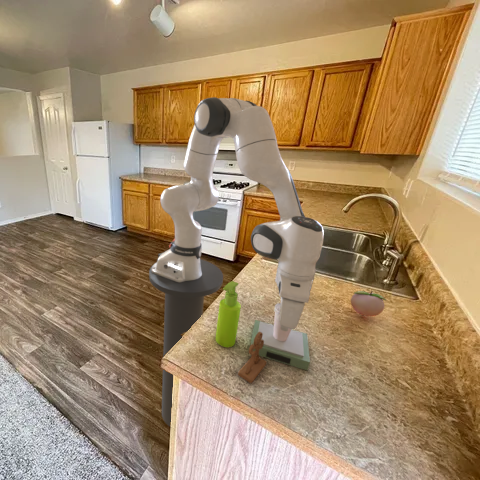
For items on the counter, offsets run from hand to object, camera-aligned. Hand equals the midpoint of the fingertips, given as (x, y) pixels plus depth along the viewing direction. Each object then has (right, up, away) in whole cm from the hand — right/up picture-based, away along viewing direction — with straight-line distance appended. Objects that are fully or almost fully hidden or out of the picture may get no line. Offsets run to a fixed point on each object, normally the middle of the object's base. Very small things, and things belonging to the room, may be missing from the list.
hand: (284, 321), depth 75 cm
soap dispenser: (-16, -8, +5) cm, 18 cm away
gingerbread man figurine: (-10, -12, -4) cm, 16 cm away
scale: (0, -9, +3) cm, 9 cm away
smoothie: (0, -5, +2) cm, 6 cm away
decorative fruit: (+36, -4, +18) cm, 41 cm away
